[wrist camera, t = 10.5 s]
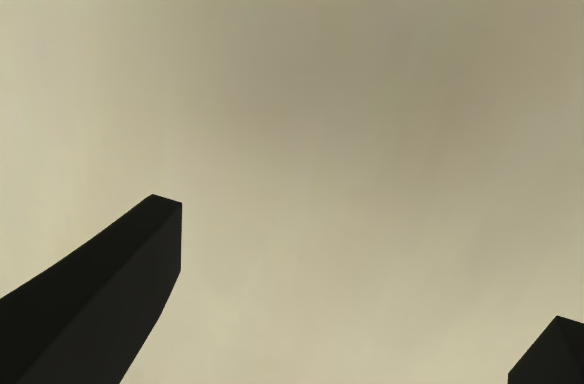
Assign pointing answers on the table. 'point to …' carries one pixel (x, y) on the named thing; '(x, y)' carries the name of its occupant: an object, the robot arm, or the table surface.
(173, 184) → the table surface
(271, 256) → the table surface
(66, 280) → the robot arm
